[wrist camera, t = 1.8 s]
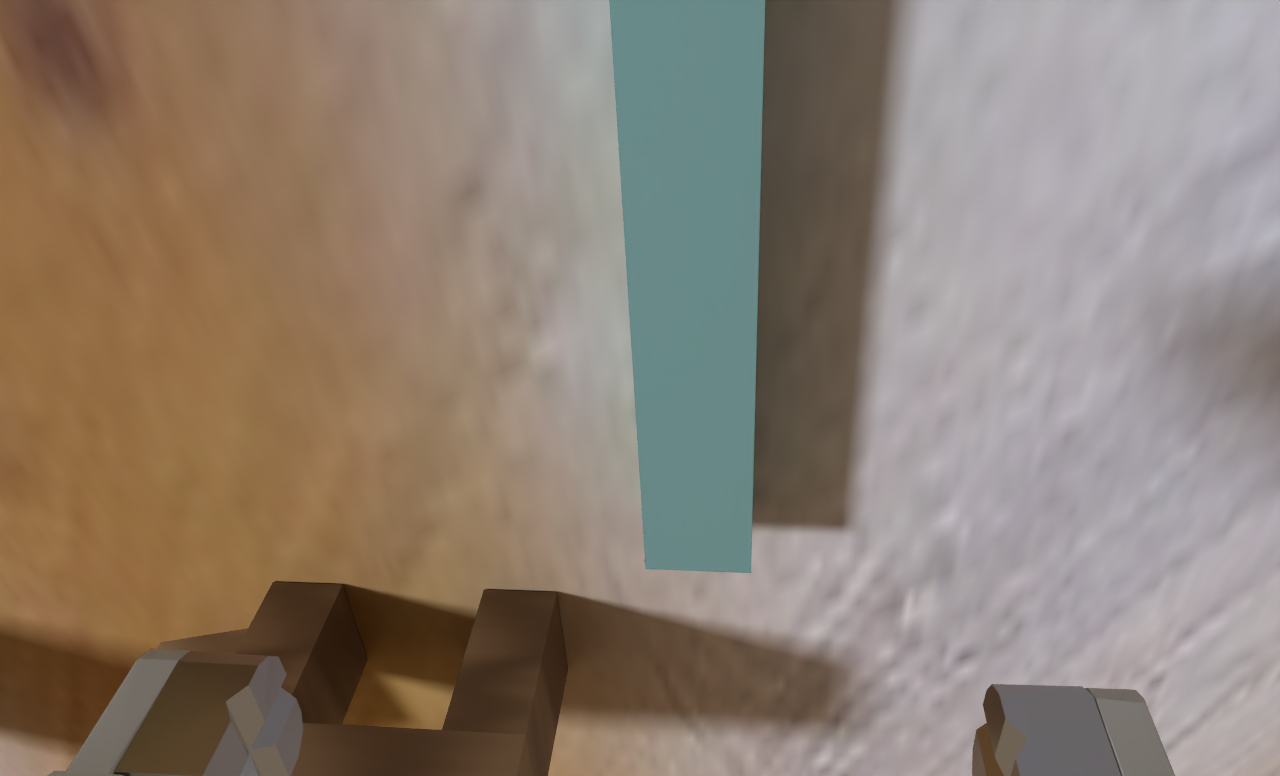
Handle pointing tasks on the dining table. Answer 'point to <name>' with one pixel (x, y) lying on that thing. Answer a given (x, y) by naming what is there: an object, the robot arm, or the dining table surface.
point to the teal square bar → (692, 266)
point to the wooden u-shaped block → (480, 705)
